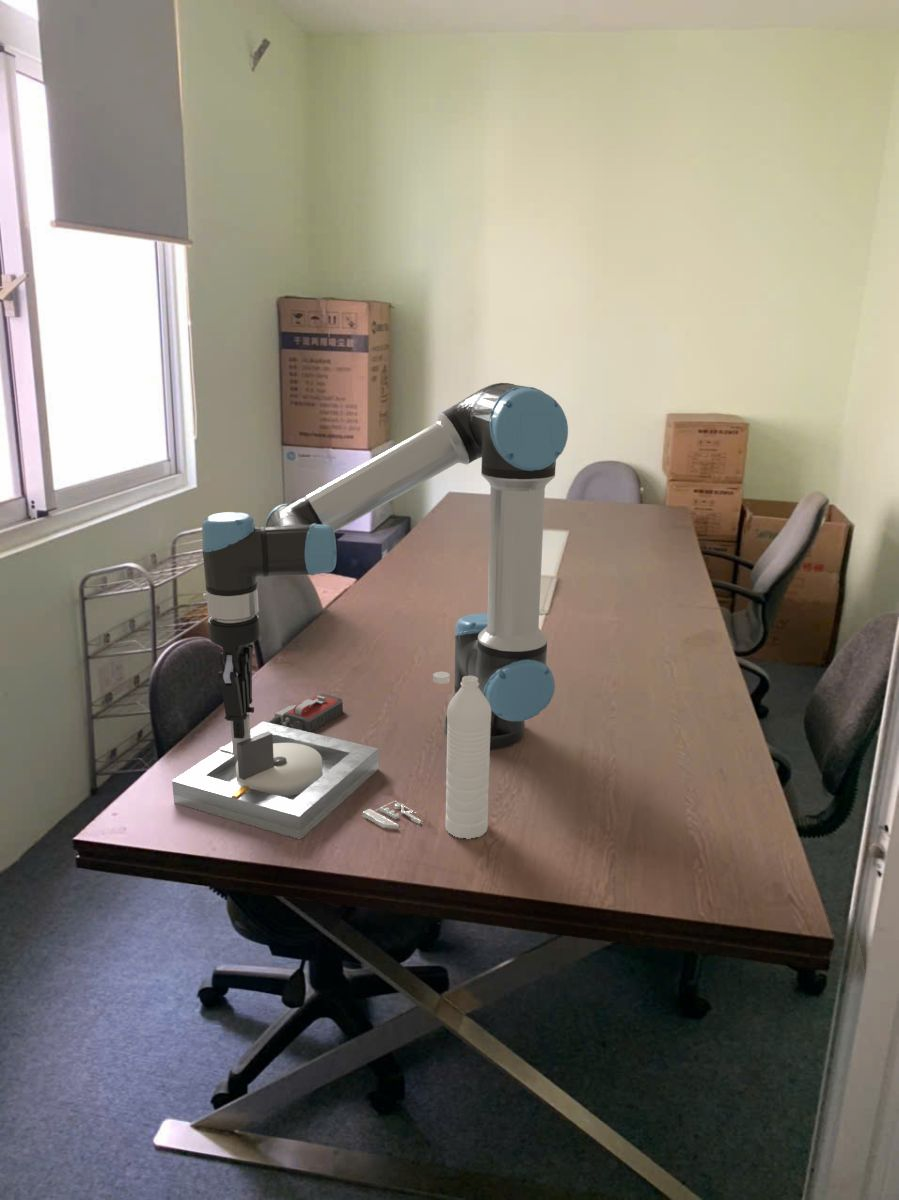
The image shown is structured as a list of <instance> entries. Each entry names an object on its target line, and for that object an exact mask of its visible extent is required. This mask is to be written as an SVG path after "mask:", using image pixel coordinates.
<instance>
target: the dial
mask: <svg viewBox="0 0 899 1200" xmlns="http://www.w3.org/2000/svg"><path fill="white" fill-rule="evenodd" d="M237 756H238V760H237V762H236V779H237V784H238V785H240V786H248V787H249V788H251V789H255V790H259V791H262V792H266V793H270V794H273V795H277V796H281V797H287V796H292V795H296V794H299V793H302V792H303V791H304V790H306V789H307V788H308V787H309V786H310V785H312V784H313V783H314V782H315V781H317V780H318V779H319V778H320V777H321V776H322V757H321V755H320V754H319V752H318V751H316V750H315V749H313V748H311V747H309V746H306V745H302V744H297V743H274V744H273V737H272V733H270V732H268V731H267V732H264V733H262V734H259V735H257V736H254V737H252V738H249V739H247V740H244V741H242V742H239V743H237Z"/></svg>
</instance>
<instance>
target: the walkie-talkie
mask: <svg viewBox="0 0 899 1200" xmlns="http://www.w3.org/2000/svg"><path fill="white" fill-rule="evenodd" d="M343 704H344V703H343V699H342V698H340V697H337V696H333V695H331V694H327V693H320V694H316V695H315V696H313V697H312V698H307V699H306V700H303V701H302V702H301V703H298V704H295V705H289V706H287V707H285V708H283V709H281V710H279V711H276V712H274V717H273V718H272V719H270V720H269V721H267V722H268V723H272V724H276V725H280V724H281V726H285V727H289V728H293V729H298V730H302V731H306V732H310V733H313V732H314V730H317V729H318V728H320V727H322V726H323V725H325V724H327V723H329V722H330V721H332V720H334V719H335V718H337V717H339V716H340V715H342V714H343V713H344V711H343V710H344V707H343Z"/></svg>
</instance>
